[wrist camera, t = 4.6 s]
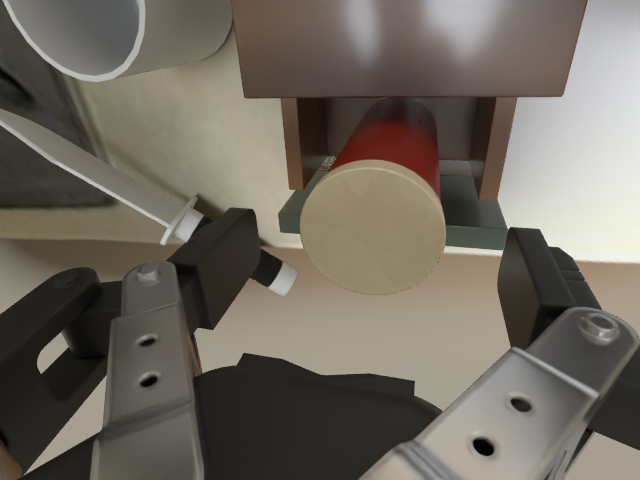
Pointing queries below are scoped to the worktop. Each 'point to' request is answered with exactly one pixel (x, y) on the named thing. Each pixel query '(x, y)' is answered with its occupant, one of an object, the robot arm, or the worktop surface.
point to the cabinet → (406, 47)
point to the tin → (379, 203)
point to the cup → (121, 33)
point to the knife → (136, 194)
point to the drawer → (453, 144)
